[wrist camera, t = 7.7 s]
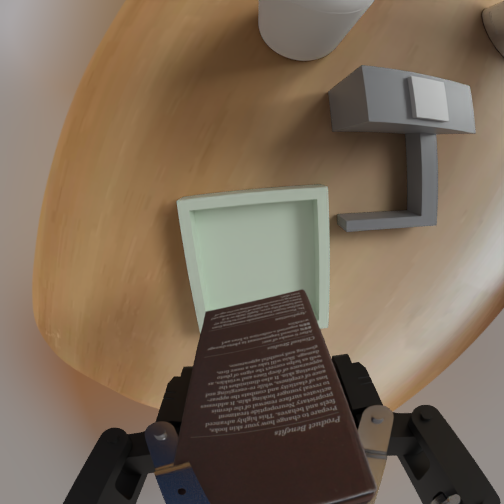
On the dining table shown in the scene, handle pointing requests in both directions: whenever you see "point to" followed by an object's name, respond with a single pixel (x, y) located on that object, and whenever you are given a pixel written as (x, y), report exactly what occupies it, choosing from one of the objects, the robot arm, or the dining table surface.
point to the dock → (402, 132)
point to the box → (270, 411)
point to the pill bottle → (307, 25)
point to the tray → (257, 246)
